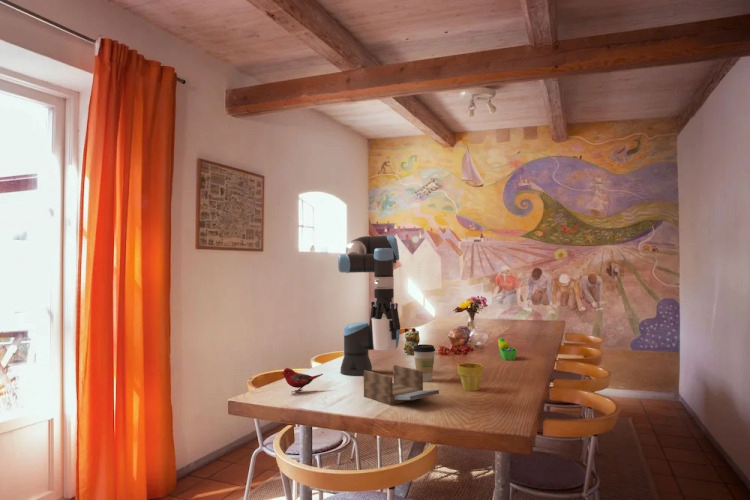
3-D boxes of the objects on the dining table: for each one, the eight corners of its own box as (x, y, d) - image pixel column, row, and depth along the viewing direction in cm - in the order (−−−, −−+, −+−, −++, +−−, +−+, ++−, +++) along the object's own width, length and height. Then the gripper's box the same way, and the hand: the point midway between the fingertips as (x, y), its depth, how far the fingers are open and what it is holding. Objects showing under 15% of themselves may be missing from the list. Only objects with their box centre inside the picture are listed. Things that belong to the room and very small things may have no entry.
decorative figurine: (402, 355, 287) (402, 328, 288) (404, 352, 295) (404, 326, 296) (420, 355, 286) (419, 328, 286) (421, 353, 294) (420, 326, 294)
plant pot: (468, 393, 202) (468, 368, 203) (452, 388, 212) (452, 364, 212) (489, 390, 207) (488, 365, 207) (473, 385, 216) (472, 361, 217)
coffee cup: (434, 383, 221) (434, 348, 221) (412, 382, 223) (411, 347, 223) (436, 378, 230) (436, 344, 231) (414, 377, 232) (414, 343, 233)
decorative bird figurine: (280, 392, 207) (280, 367, 207) (322, 388, 214) (322, 364, 214) (281, 394, 204) (281, 369, 204) (324, 389, 211) (324, 365, 211)
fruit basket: (517, 360, 269) (517, 339, 269) (500, 360, 269) (500, 339, 269) (512, 356, 280) (512, 335, 281) (496, 356, 281) (495, 336, 281)
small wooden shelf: (363, 396, 200) (363, 370, 200) (396, 389, 210) (395, 365, 210) (390, 405, 187) (389, 377, 187) (423, 397, 197) (422, 371, 197)
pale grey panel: (393, 396, 188) (412, 396, 180) (420, 390, 196) (438, 390, 188) (394, 399, 188) (412, 399, 180) (420, 393, 196) (439, 393, 188)
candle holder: (371, 347, 203) (370, 316, 203) (395, 346, 204) (395, 316, 204) (372, 351, 193) (372, 319, 193) (398, 351, 194) (398, 319, 194)
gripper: (359, 287, 205) (360, 344, 205) (394, 289, 188) (394, 351, 187) (374, 286, 210) (375, 342, 209) (409, 288, 193) (410, 349, 192)
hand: (384, 346), depth 198 cm, fingers closed on candle holder, 9 cm apart
